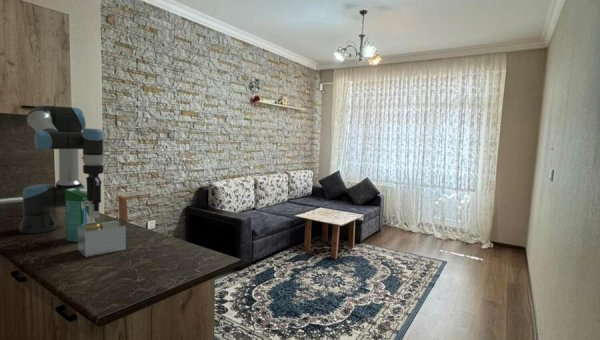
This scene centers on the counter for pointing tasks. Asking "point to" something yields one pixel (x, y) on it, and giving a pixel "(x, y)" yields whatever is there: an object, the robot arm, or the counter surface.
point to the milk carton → (76, 211)
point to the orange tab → (122, 209)
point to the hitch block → (102, 239)
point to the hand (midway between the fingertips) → (94, 216)
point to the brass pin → (94, 225)
